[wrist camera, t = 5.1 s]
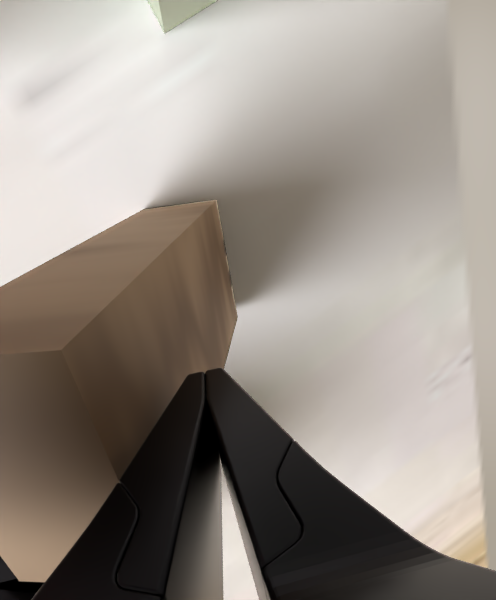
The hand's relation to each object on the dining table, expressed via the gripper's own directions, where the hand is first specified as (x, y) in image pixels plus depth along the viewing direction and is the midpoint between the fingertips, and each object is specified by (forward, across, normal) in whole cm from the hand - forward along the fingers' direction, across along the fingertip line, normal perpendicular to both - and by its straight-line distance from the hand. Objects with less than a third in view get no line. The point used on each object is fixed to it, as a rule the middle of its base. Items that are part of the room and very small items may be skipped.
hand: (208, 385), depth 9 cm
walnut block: (+10, 0, 0) cm, 10 cm away
